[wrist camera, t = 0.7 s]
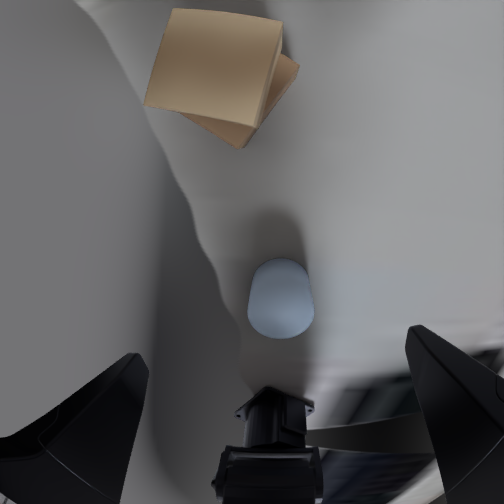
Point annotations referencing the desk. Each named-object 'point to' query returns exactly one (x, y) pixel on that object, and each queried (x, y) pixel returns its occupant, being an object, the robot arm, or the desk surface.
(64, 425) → the robot arm
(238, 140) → the base block
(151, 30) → the desk surface
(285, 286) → the cylinder
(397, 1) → the desk surface
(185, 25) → the top block
